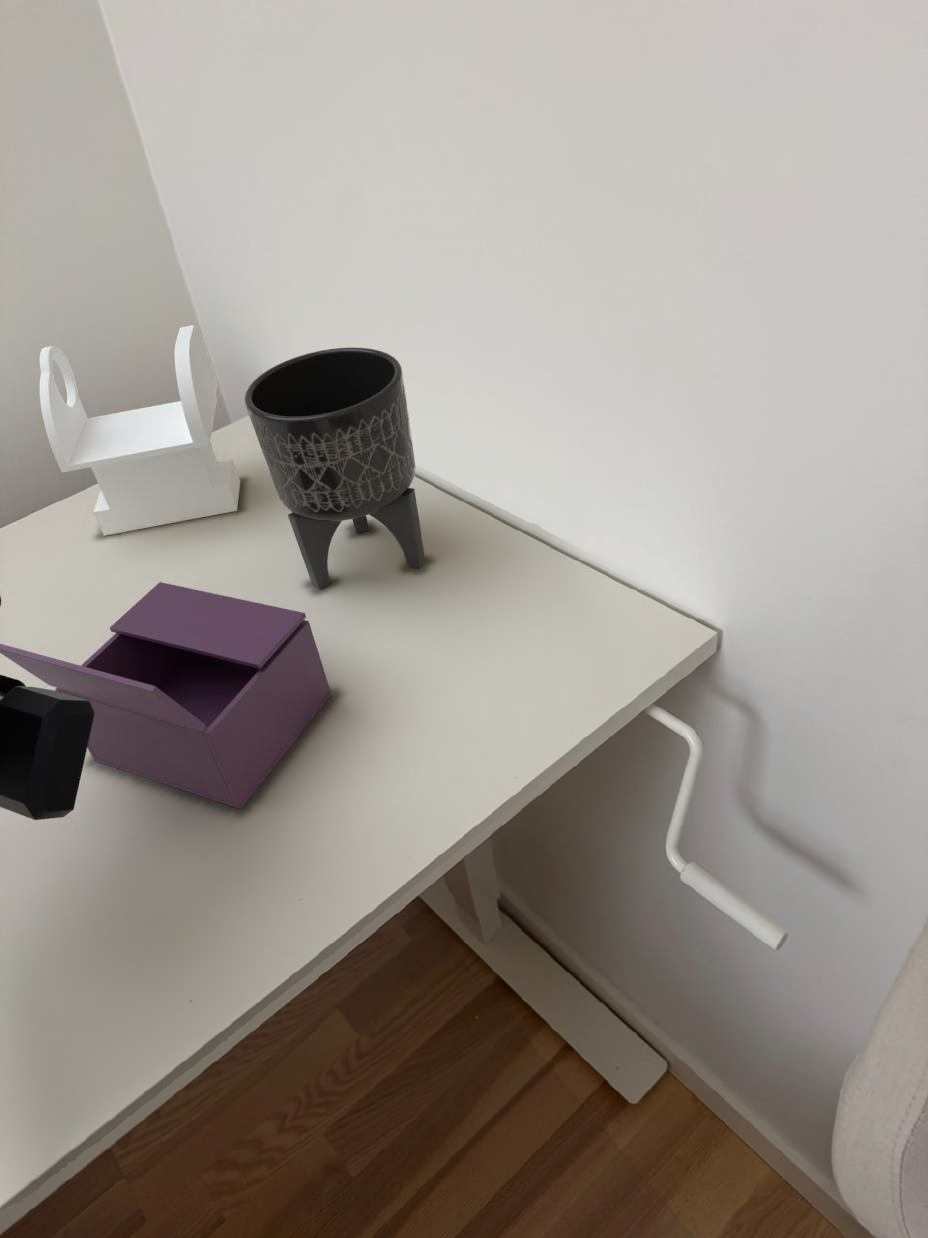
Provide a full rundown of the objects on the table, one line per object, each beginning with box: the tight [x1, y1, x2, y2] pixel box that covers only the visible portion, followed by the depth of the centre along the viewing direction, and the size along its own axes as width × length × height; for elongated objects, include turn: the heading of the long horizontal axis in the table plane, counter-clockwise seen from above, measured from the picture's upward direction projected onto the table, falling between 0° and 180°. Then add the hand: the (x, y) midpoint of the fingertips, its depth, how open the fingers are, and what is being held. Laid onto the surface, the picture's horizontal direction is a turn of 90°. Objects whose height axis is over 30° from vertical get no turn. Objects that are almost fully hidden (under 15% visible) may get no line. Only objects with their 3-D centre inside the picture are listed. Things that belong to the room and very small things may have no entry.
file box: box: [54, 581, 332, 810], centre depth 71 cm, size 12×14×8 cm
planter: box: [244, 346, 426, 590], centre depth 83 cm, size 13×13×18 cm
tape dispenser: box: [39, 324, 241, 537], centre depth 96 cm, size 14×13×18 cm
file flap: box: [0, 643, 205, 730], centre depth 62 cm, size 6×14×1 cm
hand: (66, 722), depth 60 cm, fingers closed
